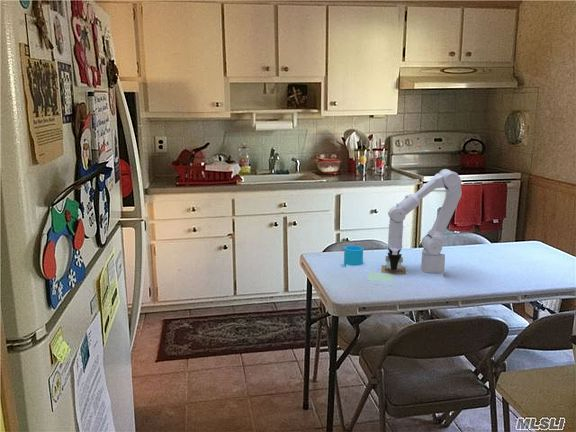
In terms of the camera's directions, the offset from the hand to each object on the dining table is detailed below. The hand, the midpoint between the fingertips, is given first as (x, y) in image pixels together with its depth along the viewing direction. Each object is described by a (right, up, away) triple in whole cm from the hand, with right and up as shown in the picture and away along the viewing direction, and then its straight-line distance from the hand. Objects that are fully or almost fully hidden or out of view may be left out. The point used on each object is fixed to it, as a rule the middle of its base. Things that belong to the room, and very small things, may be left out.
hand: (393, 266), depth 217 cm
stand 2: (0, -3, +1) cm, 3 cm away
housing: (0, -1, 0) cm, 1 cm away
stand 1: (-7, -5, -9) cm, 12 cm away
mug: (-16, 0, +12) cm, 20 cm away
